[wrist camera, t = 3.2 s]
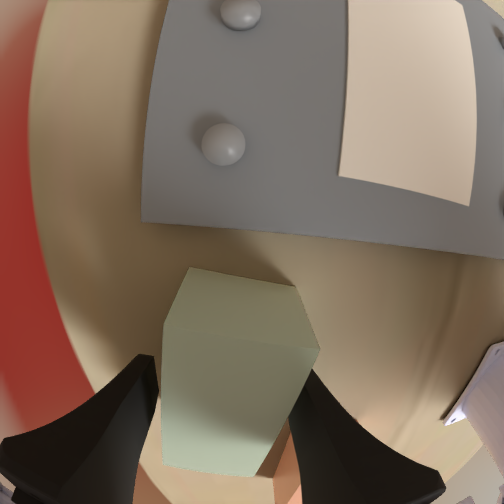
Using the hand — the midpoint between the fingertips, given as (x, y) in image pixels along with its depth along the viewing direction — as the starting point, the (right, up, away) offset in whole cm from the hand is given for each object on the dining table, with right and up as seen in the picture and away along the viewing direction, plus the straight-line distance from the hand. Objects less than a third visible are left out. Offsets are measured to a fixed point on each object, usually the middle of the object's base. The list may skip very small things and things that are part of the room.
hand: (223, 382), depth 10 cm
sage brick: (0, 0, +2) cm, 2 cm away
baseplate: (+7, +12, -2) cm, 14 cm away
